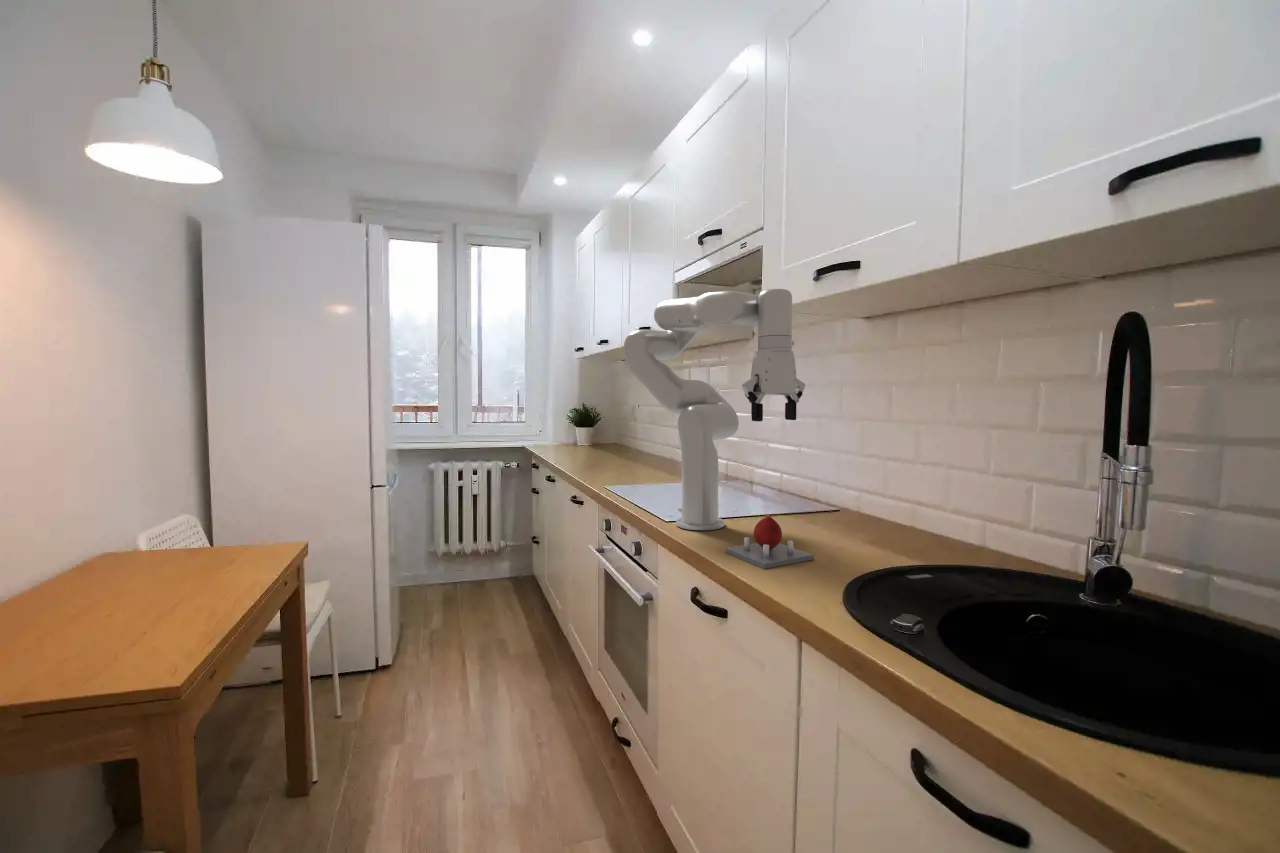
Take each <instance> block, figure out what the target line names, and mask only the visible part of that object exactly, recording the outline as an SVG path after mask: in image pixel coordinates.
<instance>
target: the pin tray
mask: <svg viewBox="0 0 1280 853" xmlns="http://www.w3.org/2000/svg"><path fill="white" fill-rule="evenodd" d="M724 550H725V551H724V553H726V552H727V553H726V554H728V553H729V554H728V555H730V554H731V556H734V557H735V556H736V557H735V558H737V557H738V559H740V560H742V561H745V562H747V563H749V564H752V565H753V566H755V567H758V568H760V569H763V570H765V569H770V568H776V567H781V565H782V566H787V565H792V563H793V564H797V563H802V561H804V562H808V560H809V561H814V554H812V553H809V552H806V551H802V550H801V549H797V548H795V547H794V541H793V540H787V544H784V543H781V542H780V543H779V544H778V545H777V546H776V547H774V548H773V549H771V550H770V551H769V545H766V544H765V545H763V548H762V547H761V546H760V545H759V544H758V543H757V542H753V543H751V537H748V536H747V537H743V544H740V545H733V546H728V547H725V549H724Z"/></svg>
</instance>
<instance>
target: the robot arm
mask: <svg viewBox="0 0 1280 853" xmlns="http://www.w3.org/2000/svg"><path fill="white" fill-rule="evenodd" d="M654 309H655V310H654V312H653V318H654V322H655V324H656V325H657V326H658V327H659V328H660V329H662V330H658V329H637V330H634V331H632V332H630V333H629V334H628V335H627V336H626V337H625V339H624V342H623V356H624V361H625V363H626V365H627V366H626V367H628V369H629V371H630V373H632V375H633V376H634V377H635V378H636V379H637V380H638V381H639V382H640V383H641V384H642V385H643V386H644V387H645V388H646V389H647V390H648V391H649V392H650V394H651V396H653V397H654V399H656V401H657V402H658V403H659V404H660V405H661V406H662V407H663V408H664V410H666V411H667V412H668V413H669V414H672V415H678V418H677V430H678V436H679V441H680V450H681V506H679V507H678V508H677V509H678V510H677V511H678V512H680V513H681V517H678V518H677V519H676V521H675V525H676V526H677V528H678V527H679V528H681V529H684V530H691V531H713V530H714V531H715V530H718V529H719V530H720V529H721V528H723V527H724V526H725V520H723V519H722V518H719V454H718V451H717V448H716V446H715V444H714V441H718V440H725V439H728V438H731V437H733V436H734V435H735V434H736V433H737V431H738V428H739V417H738V414H737V412H736V410H735V408H734V407H732V405H731V404H730V403H729V402H728V401H727V400H726V398H724V396H722V395H721V394H720V393H719V392H718V391H717V390H716V389H715V388H714V387H713V386H711V385H710V384H709V383H707V382H705V381H703V380H699V379H683V378H681V377H679V375H677V374H676V373H675V372H674V371H673V370H672V369H671V368H670V367H669V366H668V365H667V364H665V363H664V362H662V361H672V360H675V359H676V358H678V357H679V356H680V355H681V354H682V353H683V351H685V349H686V348H687V347H688V345H689V344H690V343H691V342H692V340H693V339H694V338H695V337H696V336H697V334H698V333H699V331H704V330H705V331H706V330H707V329H709V328H710V327H711V326H712V325H734V326H735V325H736V326H744V327H750V328H751V327H754V328H756V327H757V351H754V354H753V358H752V364H751V371H750V378H749V379H748V380H747V381H745V382H743V383H742V384H741V387H742V389H743V392H744V395H745V397H746V399H747V400H748V402H749V404H751V407H750V409H751V410H750V411H751V413H750V414H751V421H752V422H763V420H764V413H763V412H764V410H763V409H764V405H763V403H761V402H762V401H763V399H764V397H765V396H767V395H768V396H777V395H778V396H780V395H781V396H783V397H784V399H785V400H786V402H785V404H784V406H785V407H784V419H785V420H787V421H796V420H797V404H798V403H799V402H800V399H801V397H802V396H803V392H804V390H805V387H806V384H805V382H803V381H801V380H800V379H799V378H797V367H796V361H795V354H794V351H793V349H792V348H793V347H794V346H795V342H794V340H793V294H792V292H791V291H790V290H788V289H784V288H769V289H766V290H763V291H760V293H759V294H756V293H749V292H742V291H737V290H721V291H713V292H711V291H710V292H705V293H703V294H701V295H697V296H690V297H678V298H671V299H670V298H669V299H666V300H664V301H661V302H660V303H658V304H657V306H656V307H655V308H654Z"/></svg>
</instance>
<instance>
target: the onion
mask: <svg viewBox="0 0 1280 853" xmlns="http://www.w3.org/2000/svg"><path fill="white" fill-rule="evenodd" d="M763 516H764V518H762V519H760V520H759V521H758V523H756V525H755V526H754V529H753V538H754V540H755V543H758V544H759V545H760V546H761V547H762V548H763V545H765V544H766V545H769V551H770V550H771V549H773V548H774V547H776V546H777V545H778V544H779V543H781V540H782V537H783V532H782V528H781V526H780V525H779V523H778V522H777V521H776V520H775V519H774V518H773V517H772V516H771V515H770V514H769V513H765V514H764V515H763Z"/></svg>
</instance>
